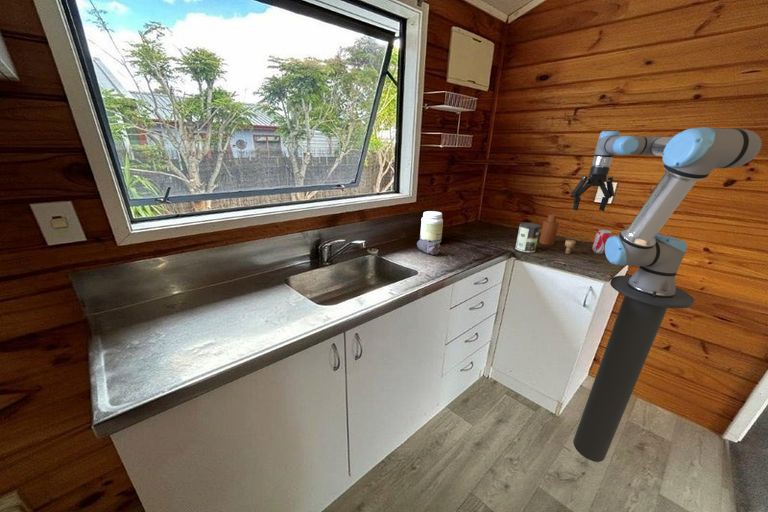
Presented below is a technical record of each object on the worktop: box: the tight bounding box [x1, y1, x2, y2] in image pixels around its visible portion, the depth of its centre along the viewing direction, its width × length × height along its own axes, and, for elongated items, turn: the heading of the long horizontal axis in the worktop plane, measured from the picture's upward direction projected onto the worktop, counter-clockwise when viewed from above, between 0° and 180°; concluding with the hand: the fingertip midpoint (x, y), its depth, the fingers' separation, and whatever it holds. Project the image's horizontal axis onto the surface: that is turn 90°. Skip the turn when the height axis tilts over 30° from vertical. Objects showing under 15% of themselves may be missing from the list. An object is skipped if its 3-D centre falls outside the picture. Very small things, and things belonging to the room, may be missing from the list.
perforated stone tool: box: [416, 239, 441, 256], centre depth 157 cm, size 15×5×7 cm, turn 36°
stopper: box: [564, 239, 576, 255], centre depth 161 cm, size 5×5×7 cm
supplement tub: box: [419, 210, 444, 244], centre depth 172 cm, size 12×12×17 cm
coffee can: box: [514, 221, 542, 254], centre depth 164 cm, size 10×10×14 cm
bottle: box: [538, 213, 560, 246], centre depth 176 cm, size 8×8×17 cm
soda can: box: [591, 229, 613, 255], centre depth 163 cm, size 7×7×12 cm
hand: (588, 210), depth 152 cm, fingers open, 13 cm apart
